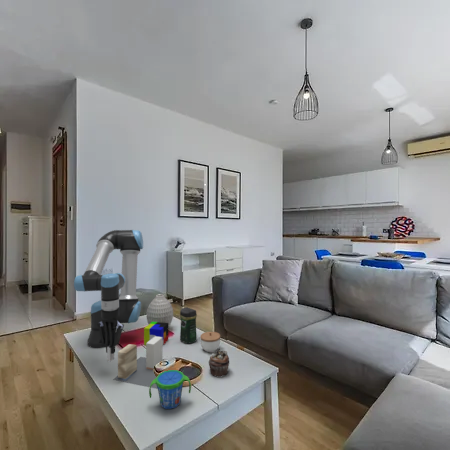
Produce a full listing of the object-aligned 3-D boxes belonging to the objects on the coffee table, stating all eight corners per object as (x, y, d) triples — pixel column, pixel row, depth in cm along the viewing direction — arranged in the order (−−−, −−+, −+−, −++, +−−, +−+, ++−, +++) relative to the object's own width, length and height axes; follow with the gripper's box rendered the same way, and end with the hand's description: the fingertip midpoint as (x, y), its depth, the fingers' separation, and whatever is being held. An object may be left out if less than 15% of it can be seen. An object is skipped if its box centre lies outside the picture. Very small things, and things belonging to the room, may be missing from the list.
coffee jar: (199, 341, 159) (199, 309, 159) (187, 345, 154) (187, 312, 153) (188, 336, 166) (188, 305, 166) (177, 340, 161) (177, 308, 160)
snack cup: (146, 414, 100) (146, 386, 100) (152, 395, 110) (152, 370, 110) (190, 412, 101) (190, 384, 101) (191, 393, 112) (191, 368, 111)
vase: (174, 334, 169) (174, 297, 168) (146, 337, 164) (146, 299, 164) (172, 324, 184) (172, 291, 184) (146, 326, 180) (146, 292, 180)
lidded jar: (208, 356, 141) (208, 338, 141) (196, 349, 150) (196, 332, 149) (224, 350, 148) (224, 333, 148) (212, 343, 156) (212, 327, 156)
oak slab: (118, 379, 121) (117, 351, 121) (129, 369, 128) (129, 344, 128) (125, 380, 120) (125, 353, 119) (136, 371, 127) (136, 345, 127)
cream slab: (146, 368, 129) (146, 343, 129) (155, 360, 137) (155, 336, 137) (153, 370, 128) (153, 344, 128) (162, 361, 136) (162, 337, 136)
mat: (112, 380, 120) (112, 379, 120) (140, 357, 141) (140, 356, 141) (166, 391, 113) (166, 390, 113) (187, 365, 133) (187, 364, 133)
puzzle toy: (161, 347, 151) (160, 329, 151) (144, 346, 153) (144, 328, 153) (168, 340, 161) (168, 322, 161) (152, 338, 163) (152, 321, 163)
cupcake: (231, 368, 131) (231, 347, 130) (226, 379, 121) (226, 356, 121) (212, 365, 133) (212, 344, 133) (205, 376, 124) (205, 353, 124)
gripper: (92, 309, 124) (92, 361, 125) (116, 312, 121) (117, 366, 121) (104, 304, 131) (104, 354, 132) (127, 307, 128) (128, 358, 128)
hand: (110, 359), depth 126 cm, fingers closed
